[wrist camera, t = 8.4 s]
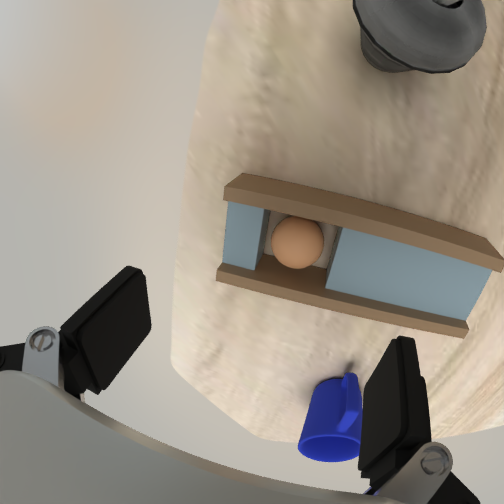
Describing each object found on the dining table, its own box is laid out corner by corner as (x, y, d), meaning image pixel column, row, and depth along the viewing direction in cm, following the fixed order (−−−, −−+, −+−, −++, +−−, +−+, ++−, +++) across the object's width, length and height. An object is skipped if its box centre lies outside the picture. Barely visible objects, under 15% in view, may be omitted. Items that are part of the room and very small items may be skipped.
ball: (290, 203, 29) (336, 220, 27) (282, 247, 31) (324, 264, 29) (265, 215, 25) (317, 235, 23) (257, 264, 28) (304, 285, 26)
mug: (385, 358, 34) (388, 423, 25) (354, 409, 40) (350, 465, 31) (324, 347, 35) (314, 413, 27) (303, 400, 41) (291, 456, 32)
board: (486, 238, 24) (506, 261, 20) (452, 309, 28) (463, 338, 24) (242, 173, 28) (224, 186, 24) (232, 256, 33) (216, 280, 28)
